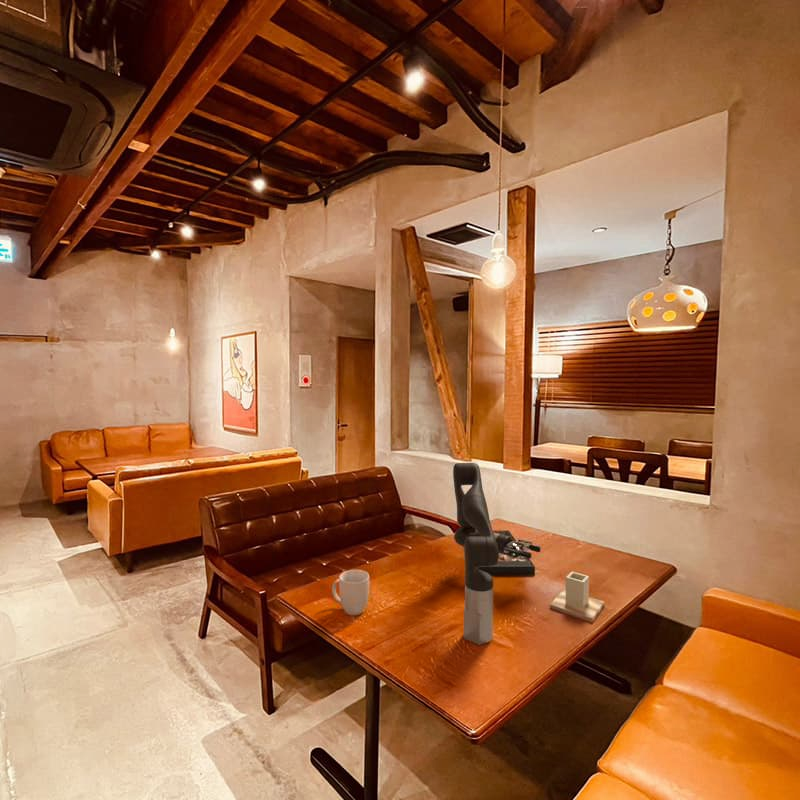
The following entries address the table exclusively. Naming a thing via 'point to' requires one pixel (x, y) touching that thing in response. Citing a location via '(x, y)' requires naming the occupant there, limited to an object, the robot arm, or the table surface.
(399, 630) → the table surface
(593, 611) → the post base
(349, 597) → the mug
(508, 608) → the table surface
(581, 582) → the cream square bin
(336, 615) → the table surface
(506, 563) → the food platter
